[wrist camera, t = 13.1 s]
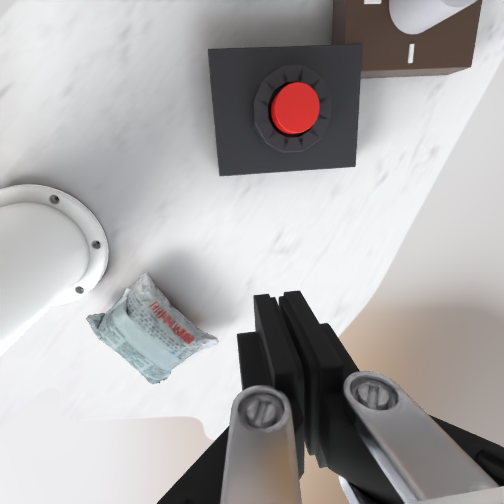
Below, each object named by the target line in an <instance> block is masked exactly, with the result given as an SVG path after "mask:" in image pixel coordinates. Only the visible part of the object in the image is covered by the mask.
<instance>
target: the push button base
mask: <svg viewBox="0 0 504 504" xmlns="http://www.w3.org/2000/svg"><path fill="white" fill-rule="evenodd" d="M208 57H209V68H210V79H211V90H212V101H213V111H214V122H215V133H216V144H217V155H218V165H219V175H220V176H232V175H246V174H260V173H274V172H289V171H303V170H317V169H332V168H346V167H355V166H356V148H357V130H358V113H359V95H360V77H361V59H362V44H351V45H320V46H288V47H257V48H225V49H208ZM294 82H301V83H305V84H307V85H309V86H310V87H311V88H313V90H314V91H315V92H316V94H317V96H318V99H319V105H320V108H319V114H318V117H317V120H316V121H315V123H314V124H313V125H312V126H311V127H310V128H309V129H308V130H306V131H304V132H301V133H296V134H287V133H284V132H282V131H280V130H279V129H278V128H277V127H276V126H275V124H274V122H273V120H272V116H271V106H272V102H273V100H274V98H275V96H276V95H277V94H278V93H279V92H280V91H281V90H282V89H283V88H284V87H285V86H287V85H288V84H291V83H294Z"/></svg>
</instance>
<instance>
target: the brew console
mask: <svg viewBox="0 0 504 504" xmlns="http://www.w3.org/2000/svg"><path fill="white" fill-rule="evenodd" d="M481 4H482V0H477V1H475V2H474V3H473V4H471V5H469V6H467V7H466V8H464V9H462V10H460V11H459V12H457V13H455V14H453V15H452V16H450V17H448V18H446V19H445V20H443V21H441V22H439V23H438V24H436V25H434V26H432V27H431V28H429V29H427V30H425V31H424V32H421V33H419V34H407V33H404V32H402V31H401V30H399V29H398V28H397V27H396V25H395V24H394V22H393V21H392V18H391V15H390V10H389V0H333V31H332V45H351V44H362V59H361V77H360V79H363V78H386V77H410V76H434V75H448V74H451V73H454V72H458V71H461V70H464V69H467V68H470V67H471V65H472V59H473V53H474V47H475V41H476V35H477V29H478V22H479V16H480V10H481Z"/></svg>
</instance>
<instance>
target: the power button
mask: <svg viewBox="0 0 504 504" xmlns="http://www.w3.org/2000/svg"><path fill="white" fill-rule="evenodd" d="M319 108H320V105H319V99H318V96H317V94H316V92H315V91H314V90H313V88H311V87H310V86H309V85H307V84H305V83H301V82H294V83H291V84H288V85H287V86H285V87H284V88H283V89H282V90H281V91H280V92H279V93H278V94H277V95H276V96H275V98H274V100H273V102H272V106H271V116H272V120H273V122H274V124H275V126H276V127H277V128H278V129H279V130H280V131H282V132H284V133H287V134H296V133H301V132H304V131H306V130H308V129H309V128H310V127H311V126H312V125H313V124H314V123H315V121H316V120H317V117H318V114H319Z"/></svg>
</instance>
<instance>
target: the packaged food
mask: <svg viewBox="0 0 504 504" xmlns="http://www.w3.org/2000/svg"><path fill="white" fill-rule="evenodd" d="M86 319H87V321H88V322H89V324H90V326H91V328H92V329H93V331H94V333H95V334H96V336H97V337H98V339H99V340H101V341H102V342H103V343H105V344H106V345H108V346H109V347H110V348H112V349H113V350H115V351H116V352H117V353H119V354H120V355H121V356H122V357H123V358H125V360H126V361H128V362H129V363H130V364H131V365H132V366H133V367H134V368H135V369H137V370H138V371H139V372H140V373H141V374H142V375H143V376H144V377H145V378H146V379H147V380H148V382H149V383H150V384H155V383H160V381H161V380H165V379H167V378H168V376H169V375H170V374H171V370H172V369H173V368H174V367H176V366H177V365H179V364H180V363H182V362H183V361H184V360H185V359H186V358H188V357H189V356H191V355H192V354H194V353H196V352H198V351H201V350H203V349H205V348H209V347H211V346H213V345H216V344H217V343H218V342H219V341H218V339H217V338H215V337H214V336H212V335H210V334H208V333H205V332H203V331H202V330H201V329H200V328H198V327H197V326H195V325H194V324H193V323H192V322H191V321H189V320H188V319H187V318H186V317H185V316H184V315H183V314H181V313H180V312H179V311H178V310H177V309H176V308H174V307H172V306H171V305H170V303H169V301H168V299H167V298H166V297H165V296H164V295H163V293H162V292H161V291H160V290H159V289H158V288H157V286H156V285H155V284H154V283H153V281H152V280H151V278H150V276H149V274H148V273H147V271H146V272H145V273H143V274H142V276H141V277H140V279H139V280H138V282H137V283H136V284H135V285H134V286H133V288H132V289H129V288H126V290H125V292H124V295H123V296H122V297H121V298H120V300H119V301H118V302H117V303H116V304H115V305H114V306H113V307H112V308H111V309H110V310H109V311H107V312H106V314H105V313H101V314H94V315H89V316H88V317H87V318H86Z"/></svg>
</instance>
